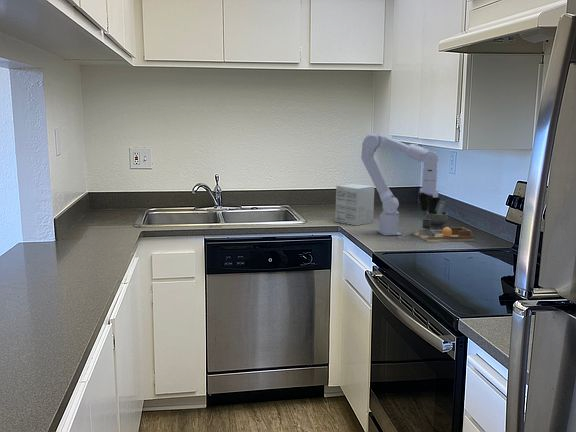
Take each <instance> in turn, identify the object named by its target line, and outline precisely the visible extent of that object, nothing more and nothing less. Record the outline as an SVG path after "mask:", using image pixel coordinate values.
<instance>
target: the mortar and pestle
mask: <svg viewBox="0 0 576 432" xmlns="http://www.w3.org/2000/svg"><path fill="white" fill-rule="evenodd" d="M446 205H447V202H446V201H444V200H439V205H438V208H437V211H436V210H435V212H434V214H429V212H428V211H426V219H431V229H432V230H443V228H445V227H444V225H445V224H447V222H448V220H449V213H448V212H446V211H445V207H446Z"/></svg>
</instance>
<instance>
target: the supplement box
mask: <svg viewBox="0 0 576 432" xmlns="http://www.w3.org/2000/svg"><path fill="white" fill-rule="evenodd" d="M335 188H336V190H335V191H336V192H335V214H334V215H335V217H334V218H335V219H334V222H336V223H339V222H340V223H341V224H345V223H346V224H345V225H350V224H351V225H350V226H355V225H357V226H362V225H366V224H372V223H374V209H375V208H374V206H375V185H366V184H358V183H348V184H341V185H336V186H335ZM361 224H362V225H361Z"/></svg>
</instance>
